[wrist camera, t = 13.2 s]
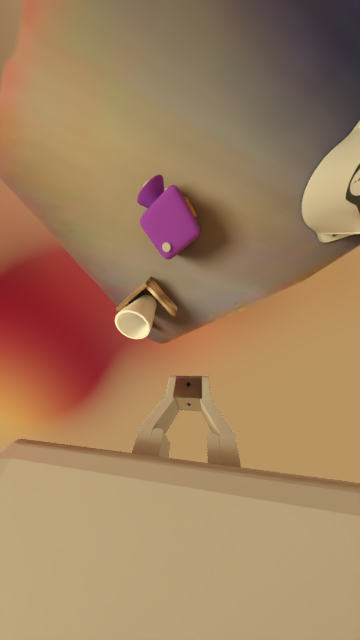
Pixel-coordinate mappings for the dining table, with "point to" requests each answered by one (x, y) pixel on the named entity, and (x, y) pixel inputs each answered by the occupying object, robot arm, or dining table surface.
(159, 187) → the toy camera
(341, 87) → the dining table surface
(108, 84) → the dining table surface
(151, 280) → the cup holder
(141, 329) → the foam cup
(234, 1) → the dining table surface
